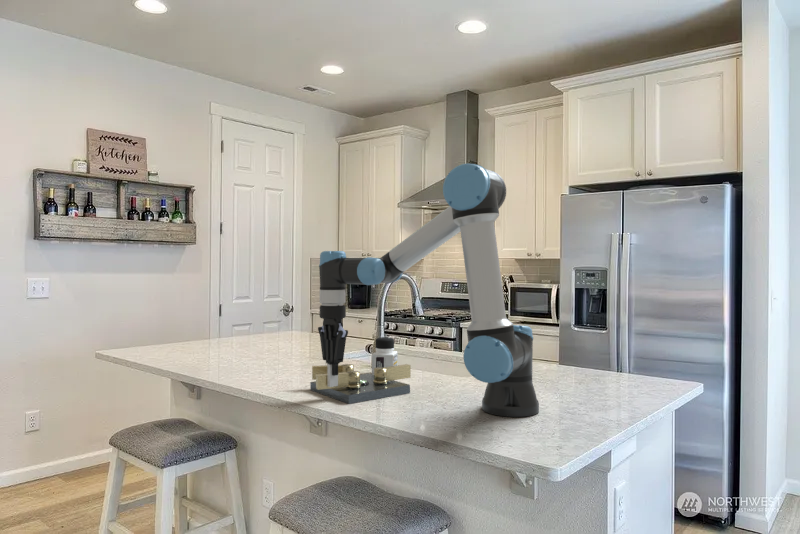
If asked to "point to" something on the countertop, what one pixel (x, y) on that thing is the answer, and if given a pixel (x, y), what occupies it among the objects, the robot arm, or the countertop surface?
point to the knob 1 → (340, 380)
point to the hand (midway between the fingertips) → (332, 386)
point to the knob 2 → (391, 373)
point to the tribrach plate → (364, 390)
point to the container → (384, 353)
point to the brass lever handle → (323, 369)
